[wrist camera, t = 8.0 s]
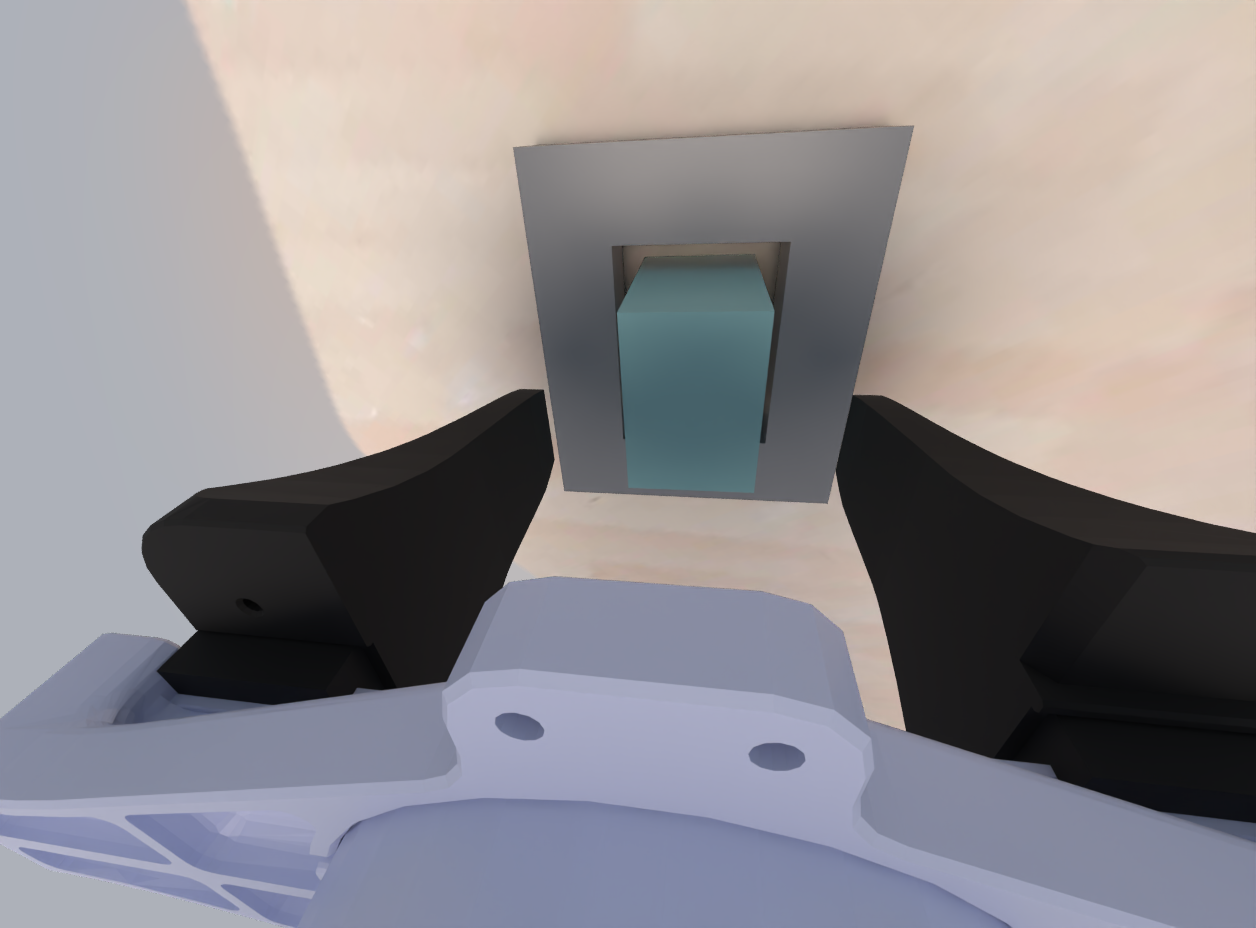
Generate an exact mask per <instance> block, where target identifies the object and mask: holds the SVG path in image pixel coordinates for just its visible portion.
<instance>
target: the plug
mask: <svg viewBox="0 0 1256 928" xmlns="http://www.w3.org/2000/svg"><path fill="white" fill-rule="evenodd" d="M774 312H775V311H774V308H773V305H772V302H771V300H770V297H769V294H768V291H767V288H766V286H765V283H764V280H763V277H762V274H761V271H760V269H759V266H758V263H757V260H756V257H755V254H742V255H705V256H667V257H645V258H644V260H643V262H642V264H641V266H640V268H639V270H638V272H637V274H636V276H635V278H634V280H633V282H632V284H631V286H630V288H629V290H628V292H627V294H626V296H625V298H624V300H623V302H622V304H621V306H620V308H619V310H618V312H617V320H618V336H619V351H620V367H621V382H622V398H623V413H624V428H625V444H626V459H627V475H628V488H645V489H670V490H694V491H719V492H744V493H754V488H755V480H756V471H757V462H758V453H759V444H760V435H761V427H762V418H763V409H764V400H765V391H766V382H767V373H768V365H769V356H770V347H771V338H772V329H773V320H774Z"/></svg>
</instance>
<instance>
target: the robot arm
mask: <svg viewBox="0 0 1256 928" xmlns="http://www.w3.org/2000/svg"><path fill="white" fill-rule="evenodd" d="M554 460H555V459H554V453H553V446H552V440H551V433H550V427H549V420H548V414H547V407H546V401H545V394H544V390H535V389H519V390H516V391H513V392H511V393H509V394H507V395H504V396H502V397H500V398H498V399H496V400H494V401H493V402H491V403H489V404H487V405H485V406H483V407H481V408H479V409H477V410H475V411H474V412H472V413H470V414H468V415H466V416H464V417H462V418H460V419H458V420H456V421H454V422H452V423H450V424H448V425H446V426H443V427H441V428H439V429H437V430H435V431H433V432H431V433H429V434H427V435H424V436H422V437H420V438H417V439H415V440H412V441H410V442H407V443H405V444H402V445H399V446H397V447H394V448H391V449H389V450H386V451H383V452H380V453H376V454H373V455H370V456H366V457H363V458H360V459H356V460H353V461H349V462H346V463H343V464H340V465H336V466H331V467H327V468H323V469H319V470H315V471H310V472H306V473H301V474H297V475H291V476H287V477H281V478H275V479H270V480H263V481H257V482H250V483H243V484H237V485H230V486H223V487H215V488H207V489H205V490H202V491H200V492H198V493H196V494H195V495H193V496H192V497H190V498H189V499H187V500H186V501H185V502H183V503H182V504H180V505H179V506H177V507H176V508H175V509H173V510H172V511H170V512H169V513H168V514H166V515H165V516H163V517H162V518H160V519H159V520H158V521H156V522H155V523H153V524H152V525H151V526H150V527H149V528H148V529H147V531H146V532H145V533H144V535H143V539H142V555H143V558H144V561H145V563H146V566H147V568H148V570H149V571H150V573H151V574H152V576H153V577H154V579H155V580H156V582H157V583H158V584H159V585H160V587H161V588H162V589H163V590H164V591H165V593H166V594H167V595H168V596H169V597H170V599H171V600H172V601H173V602H174V603H175V605H176V606H177V607H178V608H179V609H180V611H181V612H182V613H183V614H184V616H185V617H186V618H187V619H188V620H189V622H190V623H191V624H192V625H193V626H194V628H195V629H196V630H198V631H197V632H196V633H195V634H194V635H193V636H192V637H191V638H190V639H189V640H188V641H187V642H186V643H185V644H184V645H183V646H182V647H180V646H179V645H177V644H175V643H173V642H171V641H169V640H166V639H162V638H158V637H147V636H138V635H128V634H117V633H107V634H102V635H101V636H100V637H99V638H97V639H96V640H95V641H94V642H93V643H91V644H90V645H89V646H88V647H86V648H85V649H84V650H83V651H82V652H80V654H78V655H77V656H76V657H74V658H73V659H72V660H71V661H70V662H68V663H67V664H66V665H65V666H63V667H62V668H61V669H60V670H59V671H57V672H56V673H55V674H54V675H53V676H51V677H50V678H49V679H48V680H47V681H45V682H44V683H43V684H42V685H41V686H39V687H38V688H37V689H36V690H34V691H33V692H32V693H31V694H30V695H28V696H27V697H26V698H25V699H24V700H22V701H21V702H20V703H19V704H18V705H16V706H15V707H14V708H13V709H12V710H10V711H9V712H8V713H7V714H6V715H4V716H3V717H2V718H1V719H0V844H1V845H3V846H5V847H6V848H8V849H10V850H12V851H14V852H16V853H18V854H20V855H21V856H24V857H25V858H27V859H29V860H31V861H33V862H35V863H36V864H38V865H40V866H42V867H44V868H46V869H48V870H51V871H57V872H61V873H66V874H71V875H76V876H81V877H86V878H91V879H96V880H101V881H105V882H110V883H114V884H119V885H123V886H127V887H131V888H136V889H140V890H144V891H149V892H153V893H157V894H161V895H165V896H169V897H172V898H176V899H180V900H184V901H188V902H192V903H196V904H200V905H203V906H207V907H211V908H214V909H218V910H222V911H226V912H229V913H234V914H237V915H240V916H244V917H248V918H252V919H255V920H259V921H263V922H267V923H270V924H274V925H278V926H281V927H285V928H1256V533H1252V532H1247V531H1242V530H1237V529H1232V528H1228V527H1223V526H1218V525H1213V524H1209V523H1204V522H1200V521H1196V520H1192V519H1188V518H1184V517H1180V516H1176V515H1172V514H1169V513H1165V512H1161V511H1157V510H1153V509H1149V508H1145V507H1142V506H1138V505H1135V504H1131V503H1128V502H1124V501H1121V500H1117V499H1114V498H1111V497H1108V496H1105V495H1101V494H1098V493H1095V492H1092V491H1089V490H1086V489H1083V488H1080V487H1077V486H1073V485H1071V484H1068V483H1065V482H1062V481H1059V480H1057V479H1054V478H1051V477H1048V476H1046V475H1043V474H1041V473H1038V472H1036V471H1033V470H1031V469H1028V468H1026V467H1023V466H1021V465H1018V464H1016V463H1013V462H1011V461H1009V460H1007V459H1004V458H1002V457H1000V456H998V455H996V454H993V453H991V452H989V451H987V450H985V449H983V448H981V447H979V446H977V445H975V444H973V443H971V442H969V441H967V440H965V439H963V438H961V437H959V436H957V435H956V434H954V433H952V432H950V431H948V430H946V429H944V428H943V427H941V426H939V425H937V424H935V423H934V422H932V421H930V420H928V419H927V418H925V417H923V416H921V415H919V414H918V413H916V412H914V411H912V410H911V409H909V408H907V407H905V406H903V405H901V404H899V403H898V402H896V401H894V400H891V399H889V398H887V397H884V396H876V395H853V396H852V400H851V405H850V409H849V413H848V418H847V422H846V427H845V431H844V435H843V440H842V444H841V449H840V453H839V457H838V462H837V466H836V476H837V481H838V486H839V491H840V496H841V501H842V505H843V508H844V511H845V514H846V516H847V519H848V522H849V524H850V527H851V530H852V532H853V535H854V537H855V540H856V543H857V545H858V548H859V550H860V553H861V556H862V558H863V561H864V563H865V566H866V569H867V571H868V574H869V576H870V579H871V582H872V585H873V588H874V591H875V594H876V597H877V600H878V604H879V608H880V612H881V616H882V620H883V624H884V628H885V632H886V636H887V640H888V645H889V649H890V654H891V658H892V663H893V667H894V672H895V676H896V681H897V686H898V691H899V696H900V701H901V707H902V712H903V717H904V722H905V728H906V731H903V730H900V729H897V728H894V727H890V726H887V725H884V724H881V723H878V722H875V721H872V720H868V719H866V717H865V713H864V709H863V705H862V702H861V698H860V694H859V690H858V686H857V683H856V679H855V675H854V671H853V668H852V664H851V660H850V656H849V652H848V649H847V645H846V641H845V637H844V634H843V631H842V630H841V629H840V628H839V627H837V626H836V625H835V624H834V623H833V622H832V621H830V620H829V619H828V618H827V617H826V616H824V615H823V614H822V613H821V612H820V611H819V610H817V609H816V608H815V607H814V606H813V605H811V604H808V603H804V602H801V601H797V600H793V599H789V598H785V597H781V596H777V595H773V594H770V593H766V592H762V591H752V590H738V589H724V588H710V587H696V586H683V585H669V584H655V583H641V582H627V581H613V580H600V579H586V578H572V577H558V576H554V577H546V578H538V579H530V580H522V581H514V582H510V583H508V584H507V585H505V586H504V587H503V585H504V582H505V578H506V576H507V573H508V571H509V568H510V566H511V564H512V561H513V559H514V557H515V555H516V552H517V550H518V548H519V546H520V544H521V542H522V540H523V538H524V536H525V534H526V532H527V530H528V527H529V525H530V523H531V521H532V519H533V517H534V515H535V513H536V511H537V508H538V506H539V504H540V502H541V500H542V498H543V495H544V493H545V491H546V488H547V485H548V481H549V478H550V475H551V471H552V467H553V464H554Z"/></svg>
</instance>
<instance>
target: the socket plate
mask: <svg viewBox="0 0 1256 928" xmlns="http://www.w3.org/2000/svg"><path fill="white" fill-rule="evenodd" d="M913 128H914V126H881V127H863V128H844V129H826V130H808V131H789V132H771V133H753V134H734V135H716V136H698V137H679V138H661V139H643V140H624V141H606V142H588V143H569V144H551V145H534V146H523V147H513V150H514V156H515V163H516V170H517V176H518V183H519V190H520V197H521V203H522V210H523V217H524V223H525V230H526V237H527V244H528V250H529V257H530V264H531V270H532V277H533V284H534V291H535V297H536V304H537V311H538V317H539V324H540V331H541V337H542V344H543V351H544V358H545V364H546V371H547V378H548V384H549V391H550V398H551V405H552V411H553V418H554V425H555V431H556V438H557V445H558V452H559V458H560V465H561V472H562V478H563V485H564V491H573V492H594V493H615V494H637V495H658V496H679V497H700V498H721V499H742V500H763V501H785V502H806V503H827V504H828V500H829V495H830V491H831V487H832V482H833V478H834V474H835V469H836V465H837V460H838V456H839V452H840V447H841V443H842V439H843V434H844V430H845V425H846V421H847V417H848V412H849V408H850V404H851V399H852V395H853V390H854V386H855V382H856V377H857V373H858V369H859V364H860V360H861V355H862V351H863V347H864V342H865V338H866V334H867V329H868V325H869V320H870V316H871V312H872V307H873V303H874V299H875V294H876V290H877V285H878V281H879V277H880V272H881V268H882V264H883V259H884V255H885V250H886V246H887V242H888V237H889V233H890V229H891V224H892V220H893V215H894V211H895V207H896V202H897V198H898V194H899V189H900V185H901V181H902V176H903V172H904V167H905V163H906V159H907V154H908V150H909V146H910V141H911V137H912V132H913ZM753 242H781V245H780V254H779V263H778V271H777V280H776V288H775V297H774V305H773V308H774V311H775V312H774V320H773V329H772V338H771V347H770V356H769V365H768V373H767V382H766V391H765V400H764V409H763V418H762V427H761V435H760V444H759V453H758V462H757V471H756V480H755V488H754V493H744V492H719V491H694V490H670V489H645V488H628V475H627V459H626V444H625V428H624V413H623V398H622V382H621V367H620V351H619V336H618V320H617V312H618V310H619V308H620V306H621V304H622V302H623V300H624V298H625V290H624V270H623V249H622V246H629V245H671V244H712V243H753Z"/></svg>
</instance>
